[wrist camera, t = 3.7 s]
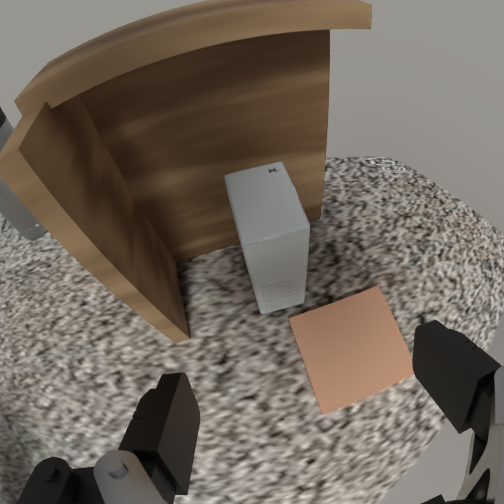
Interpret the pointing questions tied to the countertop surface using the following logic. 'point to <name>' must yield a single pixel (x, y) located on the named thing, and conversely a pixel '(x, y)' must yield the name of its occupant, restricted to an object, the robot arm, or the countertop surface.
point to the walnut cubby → (173, 136)
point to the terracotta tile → (351, 349)
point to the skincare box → (271, 234)
